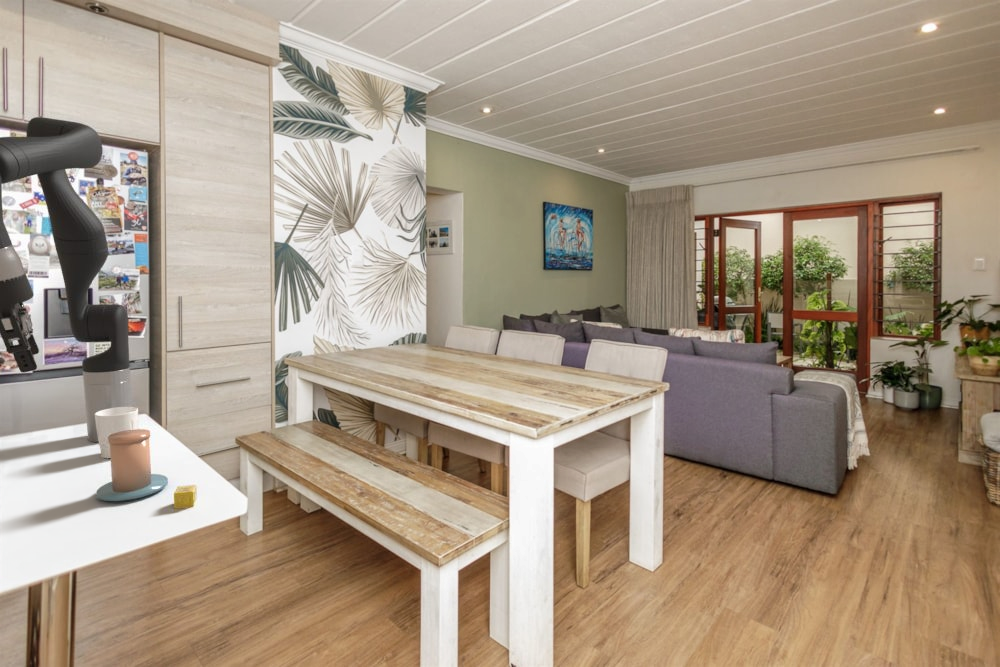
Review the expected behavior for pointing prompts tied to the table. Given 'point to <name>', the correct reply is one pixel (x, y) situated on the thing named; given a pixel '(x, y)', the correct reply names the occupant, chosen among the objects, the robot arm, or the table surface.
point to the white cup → (114, 424)
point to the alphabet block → (185, 496)
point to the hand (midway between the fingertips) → (30, 362)
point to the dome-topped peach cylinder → (130, 460)
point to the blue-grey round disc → (110, 495)
